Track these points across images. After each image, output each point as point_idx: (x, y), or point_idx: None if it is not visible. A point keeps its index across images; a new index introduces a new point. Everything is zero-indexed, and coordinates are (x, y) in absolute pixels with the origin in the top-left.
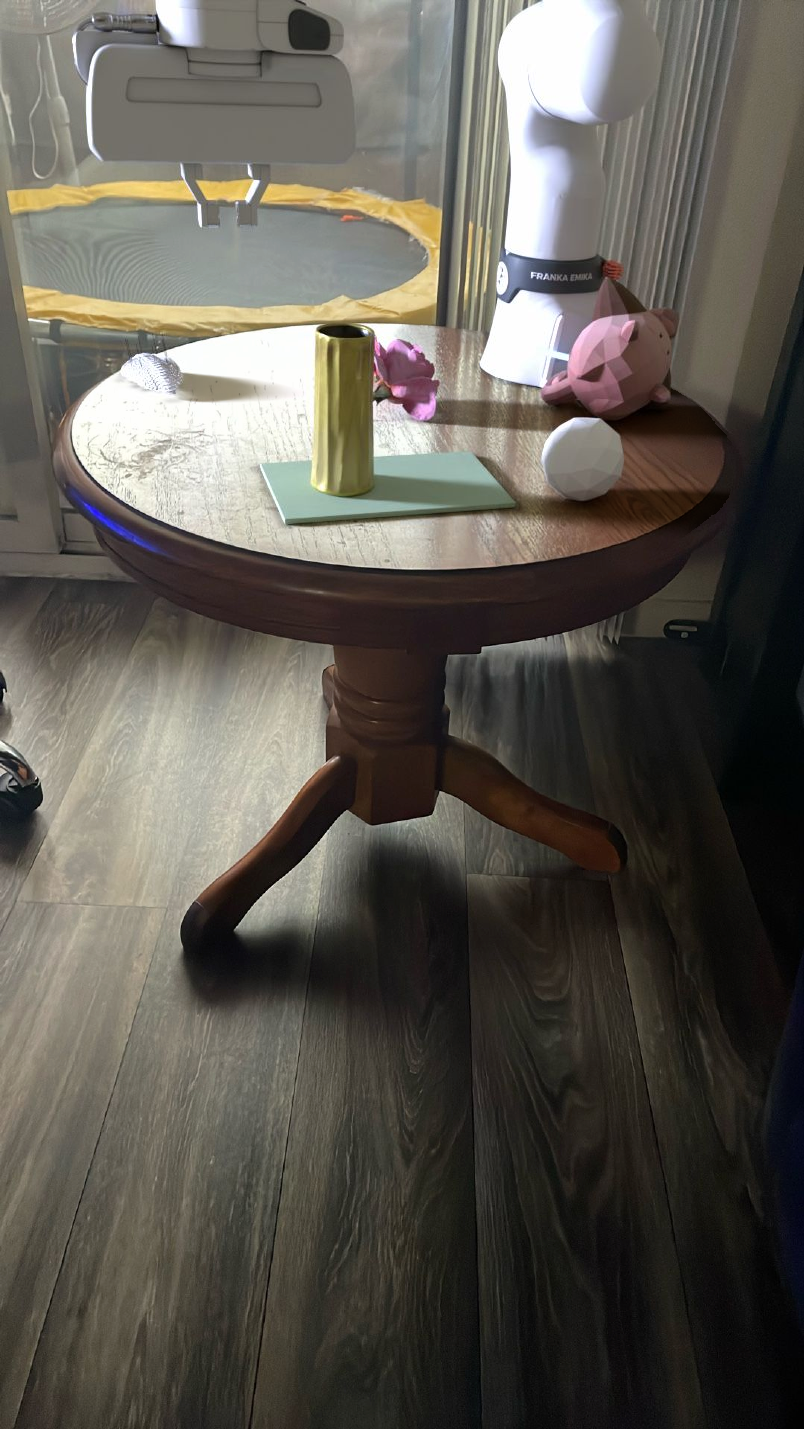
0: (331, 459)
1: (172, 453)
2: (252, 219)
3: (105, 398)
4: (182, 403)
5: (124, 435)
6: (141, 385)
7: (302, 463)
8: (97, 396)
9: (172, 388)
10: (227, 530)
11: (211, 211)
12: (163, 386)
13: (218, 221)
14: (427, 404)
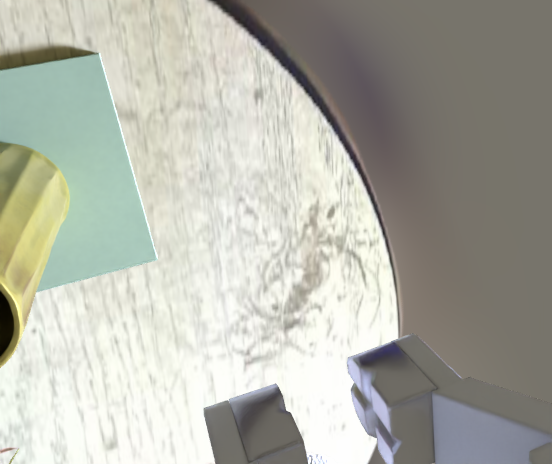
0: (17, 167)
1: (280, 289)
2: (228, 415)
3: (365, 432)
4: None
5: (340, 333)
6: (330, 459)
7: (91, 268)
8: None
9: None
10: (188, 33)
11: (405, 375)
12: None
13: (361, 363)
14: None
